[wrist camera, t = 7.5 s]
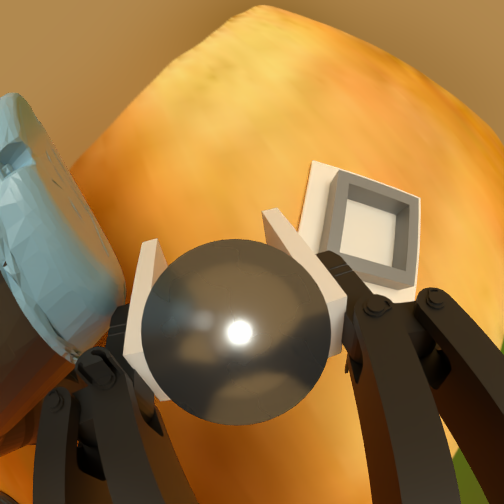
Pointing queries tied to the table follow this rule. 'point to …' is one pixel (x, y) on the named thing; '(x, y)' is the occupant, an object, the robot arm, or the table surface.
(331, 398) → the table surface
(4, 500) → the canister
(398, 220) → the square socket
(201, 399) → the glossy bronze cylinder
